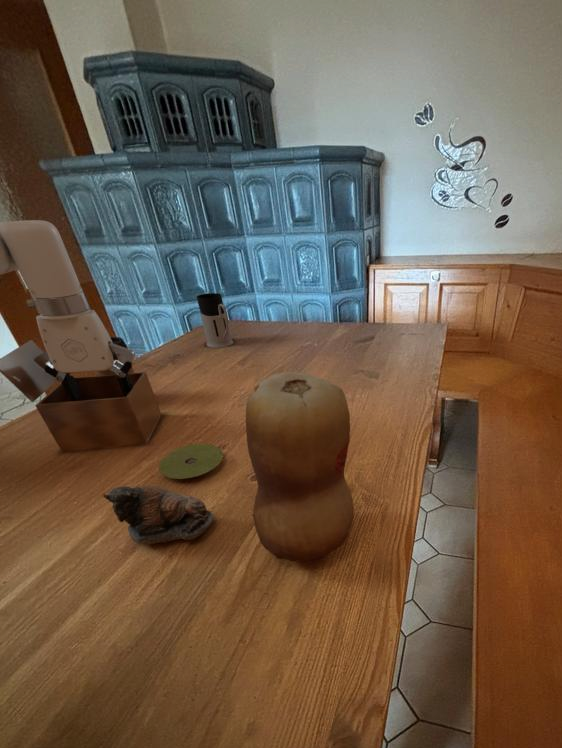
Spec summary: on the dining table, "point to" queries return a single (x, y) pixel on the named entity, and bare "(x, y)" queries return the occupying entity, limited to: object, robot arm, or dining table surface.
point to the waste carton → (101, 413)
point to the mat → (190, 461)
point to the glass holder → (214, 320)
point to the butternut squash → (299, 465)
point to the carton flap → (26, 371)
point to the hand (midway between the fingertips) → (103, 395)
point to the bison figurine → (159, 514)
